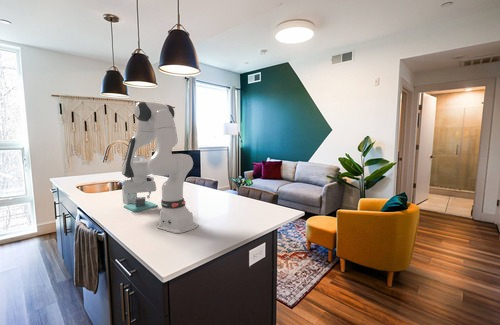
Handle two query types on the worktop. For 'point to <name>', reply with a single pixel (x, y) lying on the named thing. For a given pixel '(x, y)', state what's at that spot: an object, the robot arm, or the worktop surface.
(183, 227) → the robot arm
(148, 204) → the board
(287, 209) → the worktop surface
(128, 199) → the supplement box
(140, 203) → the knob
